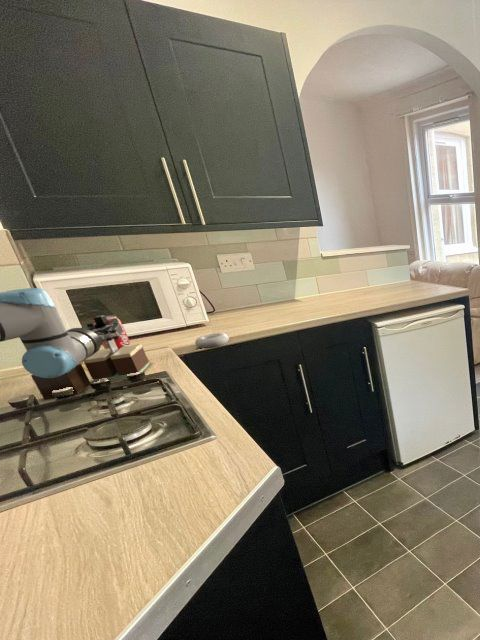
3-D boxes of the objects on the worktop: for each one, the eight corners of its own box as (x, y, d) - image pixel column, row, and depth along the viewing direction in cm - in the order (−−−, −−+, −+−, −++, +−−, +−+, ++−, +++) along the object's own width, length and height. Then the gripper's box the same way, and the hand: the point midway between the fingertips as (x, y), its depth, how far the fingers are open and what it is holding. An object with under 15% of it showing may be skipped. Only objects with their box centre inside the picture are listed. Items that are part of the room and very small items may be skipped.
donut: (236, 343, 150) (221, 339, 155) (233, 333, 148) (218, 330, 153) (206, 351, 142) (191, 347, 147) (202, 342, 141) (187, 338, 145)
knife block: (44, 399, 110) (30, 375, 107) (59, 388, 117) (46, 365, 114) (78, 394, 113) (65, 370, 110) (91, 383, 119) (79, 360, 117)
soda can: (133, 346, 151) (118, 314, 146) (133, 351, 146) (118, 317, 141) (107, 351, 147) (91, 318, 142) (106, 356, 142) (90, 321, 137)
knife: (116, 370, 124) (92, 318, 118) (121, 366, 127) (97, 315, 121) (124, 369, 125) (100, 317, 118) (128, 365, 128) (105, 314, 121)
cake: (92, 384, 119) (81, 361, 116) (109, 370, 129) (99, 349, 126) (138, 376, 123) (128, 354, 120) (151, 363, 133) (142, 343, 130)
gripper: (44, 364, 105) (86, 339, 124) (118, 354, 110) (147, 331, 130) (29, 336, 102) (74, 314, 121) (105, 326, 107) (137, 307, 127)
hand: (112, 323), depth 126 cm, fingers closed on knife, 2 cm apart
